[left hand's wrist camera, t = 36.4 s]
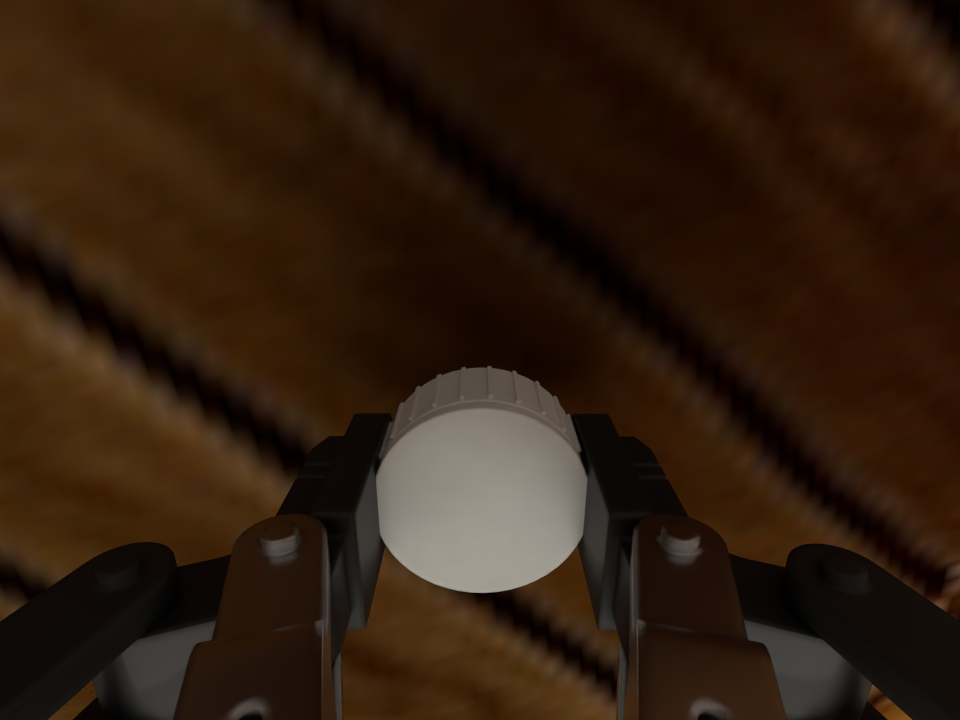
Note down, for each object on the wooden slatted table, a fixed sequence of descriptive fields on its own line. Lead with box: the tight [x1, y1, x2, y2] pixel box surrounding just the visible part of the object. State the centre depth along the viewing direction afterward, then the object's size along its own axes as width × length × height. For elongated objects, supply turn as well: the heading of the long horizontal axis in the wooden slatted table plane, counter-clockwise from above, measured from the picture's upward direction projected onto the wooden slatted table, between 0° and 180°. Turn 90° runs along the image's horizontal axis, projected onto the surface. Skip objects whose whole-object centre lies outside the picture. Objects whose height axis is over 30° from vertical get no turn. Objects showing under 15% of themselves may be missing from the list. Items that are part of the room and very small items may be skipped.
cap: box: [376, 366, 587, 593], centre depth 11 cm, size 4×4×2 cm
